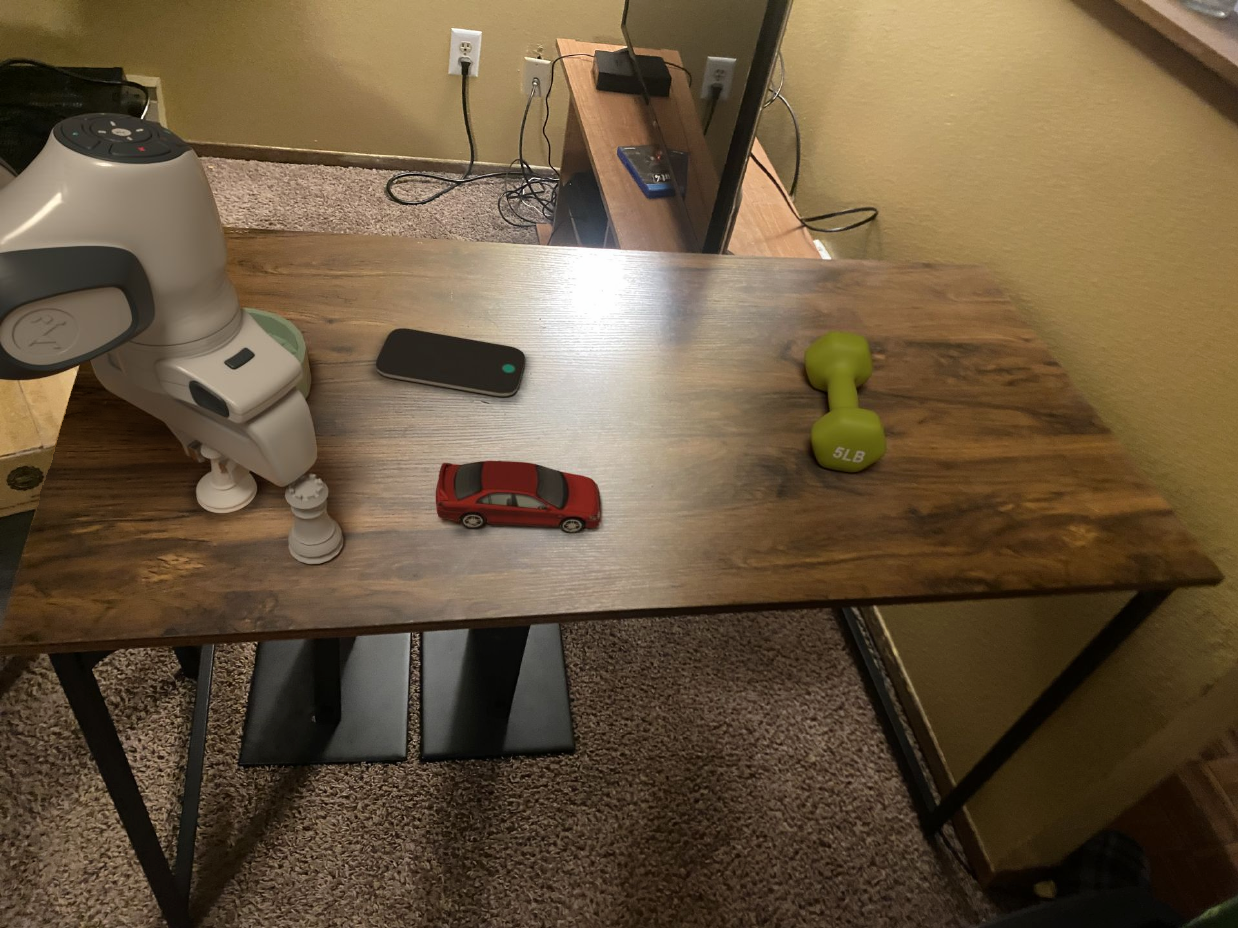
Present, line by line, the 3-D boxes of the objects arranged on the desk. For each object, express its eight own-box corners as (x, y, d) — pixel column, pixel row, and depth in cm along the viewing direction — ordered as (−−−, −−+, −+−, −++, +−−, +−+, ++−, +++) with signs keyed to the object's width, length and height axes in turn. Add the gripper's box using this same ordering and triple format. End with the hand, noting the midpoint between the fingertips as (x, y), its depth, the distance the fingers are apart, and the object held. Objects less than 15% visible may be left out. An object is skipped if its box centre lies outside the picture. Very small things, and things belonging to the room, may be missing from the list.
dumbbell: (874, 484, 87) (901, 435, 82) (799, 469, 87) (822, 420, 82) (860, 382, 98) (883, 334, 93) (794, 369, 98) (813, 320, 93)
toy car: (441, 481, 79) (440, 445, 75) (599, 496, 80) (606, 461, 77) (432, 527, 75) (431, 491, 71) (598, 541, 76) (605, 507, 73)
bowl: (173, 451, 76) (159, 412, 73) (157, 358, 84) (144, 318, 80) (324, 422, 81) (318, 384, 78) (297, 337, 89) (290, 299, 85)
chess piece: (246, 516, 73) (224, 436, 65) (187, 509, 72) (158, 428, 65) (264, 474, 76) (245, 394, 69) (208, 468, 76) (183, 386, 68)
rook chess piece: (286, 530, 72) (272, 469, 66) (340, 521, 74) (331, 460, 68) (292, 572, 70) (277, 511, 64) (347, 561, 71) (338, 501, 65)
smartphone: (515, 394, 87) (371, 369, 86) (515, 400, 87) (372, 375, 87) (527, 348, 92) (391, 324, 91) (527, 354, 92) (392, 331, 92)
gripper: (40, 303, 62) (97, 434, 72) (255, 420, 57) (284, 542, 67) (114, 266, 66) (158, 394, 76) (319, 371, 61) (337, 493, 71)
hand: (218, 464), depth 71 cm, fingers open, 3 cm apart
